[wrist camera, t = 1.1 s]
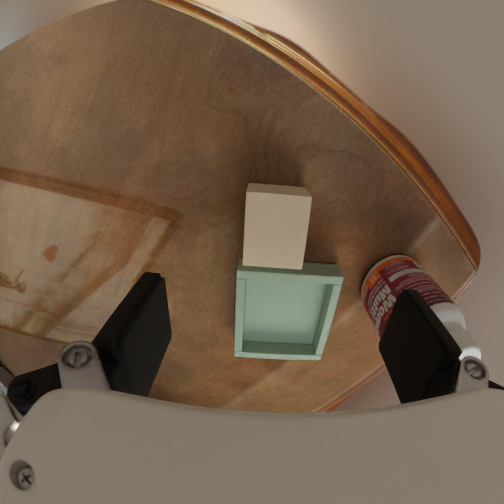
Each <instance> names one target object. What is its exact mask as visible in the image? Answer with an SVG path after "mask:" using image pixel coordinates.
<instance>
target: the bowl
mask: <svg viewBox="0 0 504 504" xmlns="http://www.w3.org/2000/svg"><path fill="white" fill-rule="evenodd" d="M13 379H14V377H13V376H12V375H11V374H10V373H9V372H8V371H7V370H6V369H4V368H3V367H1V366H0V394H1V393H2V392H3V393H4V395H6V394H7V389H8V386H9V384H10V382H11V381H12V380H13Z"/></svg>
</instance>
